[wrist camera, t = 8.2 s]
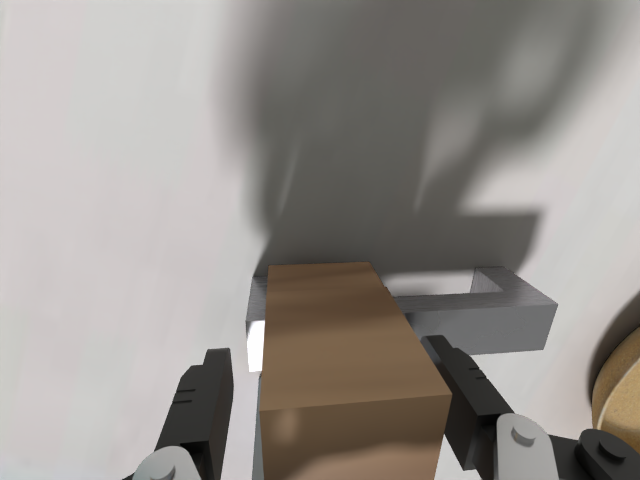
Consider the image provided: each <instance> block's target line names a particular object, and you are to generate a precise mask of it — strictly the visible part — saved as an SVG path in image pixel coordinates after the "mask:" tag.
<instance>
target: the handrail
mask: <svg viewBox="0 0 640 480" xmlns="http://www.w3.org/2000/svg"><path fill="white" fill-rule="evenodd" d="M267 281H268V276H261V277H252V283H251V289H250V296H249V303H248V309H247V316H246V333H247V345H248V358H249V371H262V359H263V342H264V326H265V310H266V293H267ZM393 298H394V300H395V302H396V303H397V305H398V307H399V308H400V310H401V311H402V313H403V315H404V316H405V318H406V320H407V321H408V323H409V324H410V326H411V328H412V329H413V331H414V333H415V334H416V336H417V337H418V339H419V341H420V339H421V337H422V336H429V335H443V336H444V337H445V338H446V339H447V340H448V342H449V343H450V345H451V346H452V347H453V348H459V349H461V350H462V351H463V352H465V353H466V354H468V355H480V354H494V353H507V352H521V351H534V350H543V349H544V346H545V343H546V340H547V337H548V334H549V331H550V328H551V325H552V322H553V319H554V316H555V313H556V310H557V307H558V303H556V302H555V301H553V300H552V299H550V298H549V297H547V296H546V295H544V294H543V293H542V292H540V291H539V290H537V289H536V288H534V287H533V286H531V285H530V284H528V283H527V282H526V281H524V280H523V279H521V278H520V277H518V276H517V275H515V274H514V273H513V272H511V271H510V270H508V269H507V268H505V267H484V268H475V273H474V278H473V282H472V287H471V292H470V293H463V294H443V295H423V296H403V297H393Z"/></svg>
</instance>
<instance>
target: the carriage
mask: <svg viewBox="0 0 640 480" xmlns="http://www.w3.org/2000/svg"><path fill="white" fill-rule="evenodd" d="M451 399H452V393H451V391H450V389H449V388H448V386H447V384H446V383H445V381H444V380H443V378H442V376H441V375H440V373H439V371H438V370H437V368H436V367H435V365H434V363H433V362H432V360H431V358H430V357H429V355H428V354H427V352H426V350H425V349H424V347H423V345H422V344H421V342H420V341H419V339H418V337H417V336H416V334H415V333H414V331H413V329H412V328H411V326H410V324H409V323H408V321H407V320H406V318H405V316H404V315H403V313H402V311H401V310H400V308H399V307H398V305H397V303H396V302H395V300H394V298H393V297H392V295H391V294H390V292H389V290H388V289H387V287H384V285H383V283H382V282H381V280H380V278H379V277H378V275H377V273H376V272H375V270H374V268H373V267H372V265H371V264H370V262H347V263H319V264H292V265H268V281H267V293H266V310H265V326H264V342H263V359H262V375H261V392H260V408H259V414H260V428H261V443H262V458H263V472H264V480H434V477H435V472H436V468H437V463H438V458H439V454H440V449H441V445H442V440H443V435H444V431H445V426H446V422H447V417H448V412H449V408H450V403H451Z"/></svg>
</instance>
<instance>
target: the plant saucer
mask: <svg viewBox="0 0 640 480" xmlns="http://www.w3.org/2000/svg"><path fill="white" fill-rule="evenodd" d="M592 424H593V429H598V430H603V431H606V432H608V433H611V434H613V435H615V436H617V437H618V438H620V439H622V440H623V441H625V442H626V443H627V444H629V445H630V446H631V447H632V448H633V449H634V450H635V451H637V452H638V453H639V454H640V326H639V327H638V328H637V329H635V330H634V331H633V332H632V333H631V334H629V335H628V336H627V337H626V338H625V339H624V340H623V341H622V342H621V343H620V344H619V345H618V346H617V347H616V348H615V350H614V351H613V352H612V353H611V354H610V356H609V357H608V359H607V360H606V362H605V363H604V365H603V366H602V368H601V370H600V372H599V374H598V377H597V379H596V382H595V385H594V389H593V397H592Z"/></svg>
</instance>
